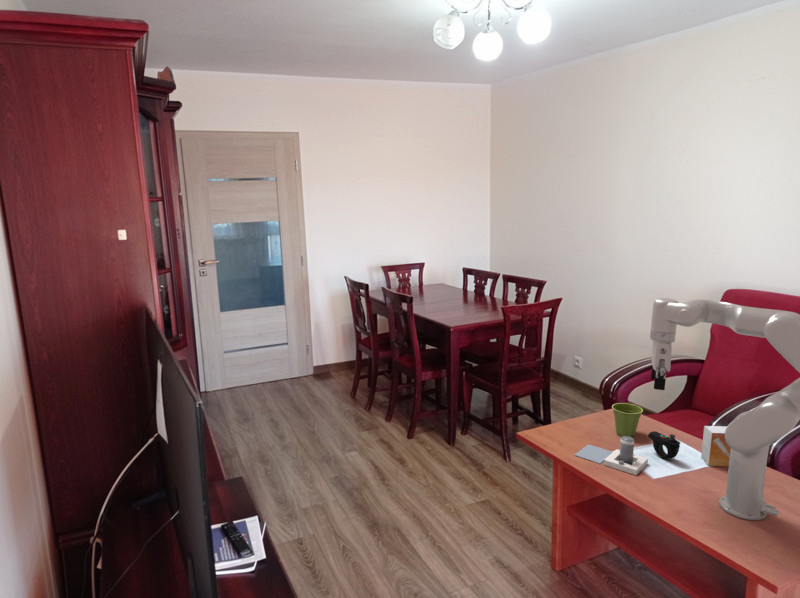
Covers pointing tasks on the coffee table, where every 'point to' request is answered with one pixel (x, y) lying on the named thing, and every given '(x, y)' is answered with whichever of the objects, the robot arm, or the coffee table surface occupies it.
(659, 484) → the coffee table surface
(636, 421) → the plant pot
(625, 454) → the cartridge
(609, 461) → the frame
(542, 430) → the coffee table surface
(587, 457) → the mat
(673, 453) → the controller
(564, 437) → the coffee table surface
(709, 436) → the small box
